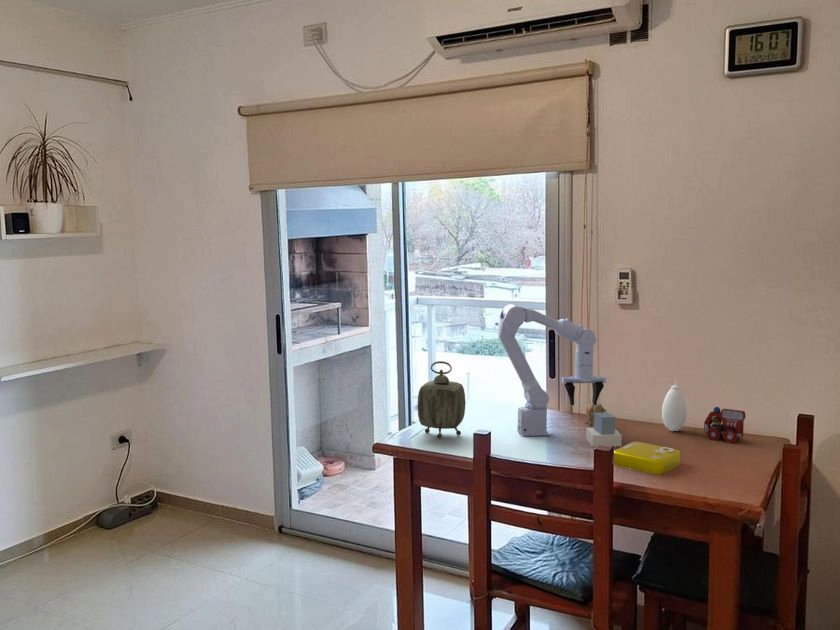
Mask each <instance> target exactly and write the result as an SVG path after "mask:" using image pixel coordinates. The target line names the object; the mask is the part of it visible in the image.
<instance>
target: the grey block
mask: <svg viewBox="0 0 840 630" xmlns="http://www.w3.org/2000/svg"><path fill="white" fill-rule="evenodd" d="M616 418H617V417H616V416H615V415H613V414H611V413H610V412H607V411H606V412H603V413H594V421H593V428H594V430H595V431H597V432H598V433H600V434H601V435H604V434H615V429H616Z"/></svg>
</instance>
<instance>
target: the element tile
mask: <svg viewBox="0 0 840 630" xmlns="http://www.w3.org/2000/svg"><path fill="white" fill-rule="evenodd" d="M613 451H614V465H613V466H615V465H618V466H617V467H619V466H623V467H627V468H626V469H628V468H631V469H630V470H632V469H636V470H640V471H639V472H641V471H644V472H643V473H645V472H648V473H647V474H649V473H653V474H652V475H654V474H662V475H664V474H666V473H668V472H669V471H668V470H670V469H671V470H673V469H675V468H677V467H678V465H679V464H680V465H681V451H680V449H676V448H671V447H666V446H661V445H656V444H651V443H646V442H640V441H632V442H630V443H628V444H625V445H623V446H621V447H618V448H617V449H614V450H613ZM680 465H679V466H680ZM676 466H677V467H676ZM623 467H622V468H623ZM674 467H675V468H674ZM672 468H673V469H672ZM636 470H635V471H636ZM671 470H670V471H671ZM667 471H668V472H667ZM665 472H666V473H665ZM663 473H664V474H663Z"/></svg>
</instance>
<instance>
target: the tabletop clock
mask: <svg viewBox="0 0 840 630" xmlns="http://www.w3.org/2000/svg"><path fill="white" fill-rule="evenodd" d="M436 364H443V365H447V366H448V367H450V369H449V370H448V371H444V370H443V369H440V370H439V371H436V370H434V369H433V367H434V366H435V365H436ZM430 370H431V371H432V372H433V373H435V374H437V375H436V376H435V377H433V378H434V379H433V380H431V381H427V382H425V383H423V384H422V386H421V387H420V388H419V391H418V395H417V405H416V406H417V407H416V408H417V416H418V420H419V423H420V425H421V426H424V427H427V428H425V429H424V432H425V434H428V433H430V432H431V430H430V429H431V428H433V429H438V433H437V435H436V436H437V439H442V437H443V435H442V434H443V433H442V429H446V430H447V429H448V430H449V429H454V430H455V431H456V432H455V433H456V435H457V436H461V435H462V432H461V431H460V430H459V429H458V428H457V427H459V426H460V424H461V423H462V422H463V420H464V418H465V414H466V393H465V389H464V386H463V384H461V383H459V382H457V381H452V380H451V381H450V379H449V378H448V376H446V375H447V374H449V373H451V372H452V370H453V367H452V365H451V364H450V363H449V362H447V361H442V360H439V361H434V362H433V363H432V364H431V366H430Z"/></svg>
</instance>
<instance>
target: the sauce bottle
mask: <svg viewBox="0 0 840 630" xmlns="http://www.w3.org/2000/svg"><path fill="white" fill-rule="evenodd" d="M687 408H688V407H687V402H686V399H685V396H684V394H683V391H682V390H681V389H680V386H679V385H677V379H676V377H675V379H674V384H673V385H671V386H670V389H669V390H668V391H667V393H666V395H665V397H664V400H663V402H662V407H661V417H662V421H663V424H664V426H665V427H666V428H667V429H668V431H671V432H673V431H676V432H677V431H680V430H681V429H682V428H683V427H684V425H685V423H686V421H687V416H688V409H687Z"/></svg>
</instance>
